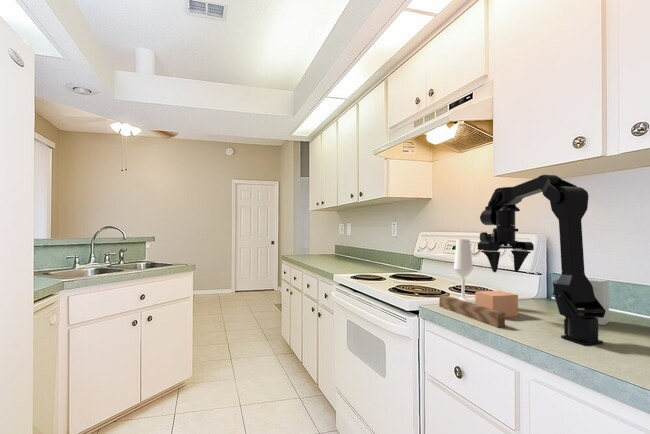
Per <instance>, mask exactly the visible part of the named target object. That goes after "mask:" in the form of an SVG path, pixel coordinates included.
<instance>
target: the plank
mask: <svg viewBox="0 0 650 434" xmlns="http://www.w3.org/2000/svg"><path fill="white" fill-rule="evenodd" d="M438 301H439V307H440V308H443V309H445V310H448V311H450V312H454V313H455V314H460V315H462V316H465V317H468V318H470V319H473V320H476V321H478V322H481V323H484V324H486V325H490V326H492V327H495V328H498V329H499V328H500V329H502V328H505V327H506V317H505V313H502V312H499V311H496V310H493V309H489V308H486V307H483V306H479V305H476V304H475V303H473V302H472V303H470V302H471V301H470V302H466V301H463V300H460V299H459V298H456V297H454V296H449V295H446V294H440V295H439V300H438Z"/></svg>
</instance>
